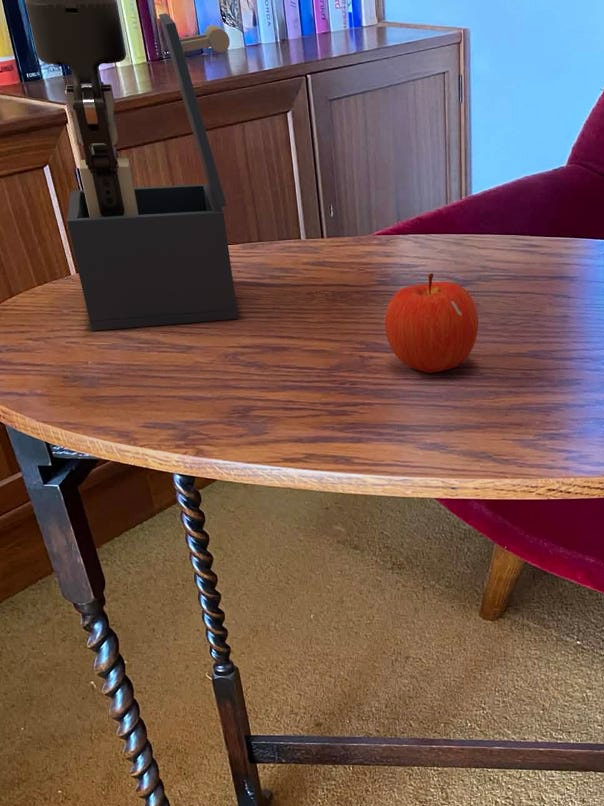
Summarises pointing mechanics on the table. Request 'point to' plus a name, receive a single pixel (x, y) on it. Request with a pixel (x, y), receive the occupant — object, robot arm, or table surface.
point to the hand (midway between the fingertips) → (113, 209)
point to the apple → (432, 325)
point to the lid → (176, 48)
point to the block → (125, 187)
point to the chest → (154, 259)
